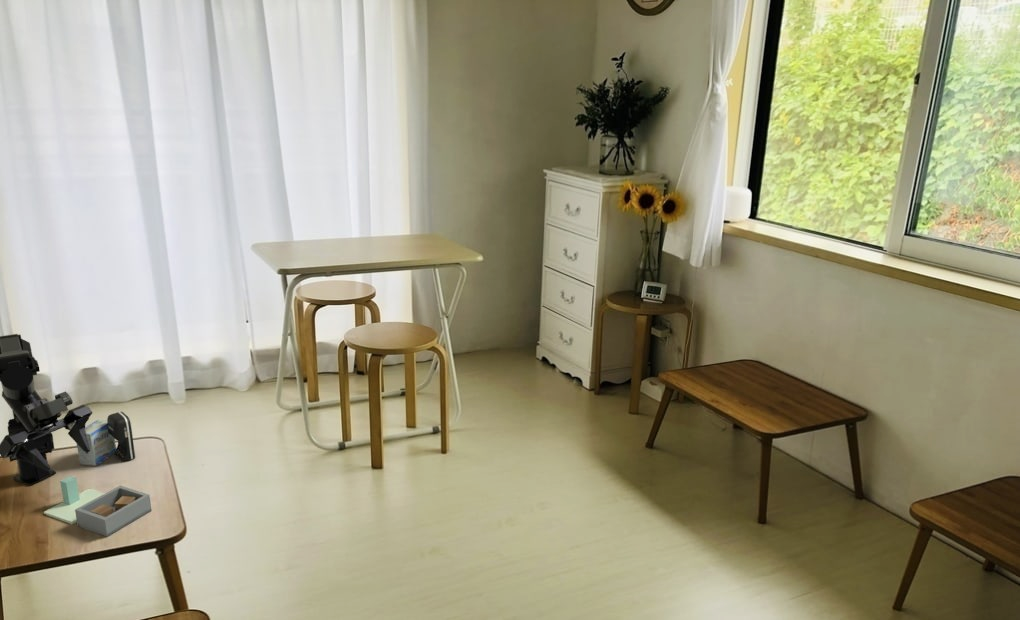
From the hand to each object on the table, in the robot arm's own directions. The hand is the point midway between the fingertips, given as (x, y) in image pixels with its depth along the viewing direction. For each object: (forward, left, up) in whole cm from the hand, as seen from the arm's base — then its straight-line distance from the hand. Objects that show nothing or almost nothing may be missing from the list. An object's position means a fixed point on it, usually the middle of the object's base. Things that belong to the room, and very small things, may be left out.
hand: (69, 460), depth 162 cm
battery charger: (-10, +20, -11) cm, 25 cm away
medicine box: (-15, +17, -11) cm, 25 cm away
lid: (+1, 0, -12) cm, 12 cm away
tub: (+12, 0, -11) cm, 16 cm away
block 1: (+11, -2, -11) cm, 16 cm away
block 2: (+13, +2, -11) cm, 17 cm away
